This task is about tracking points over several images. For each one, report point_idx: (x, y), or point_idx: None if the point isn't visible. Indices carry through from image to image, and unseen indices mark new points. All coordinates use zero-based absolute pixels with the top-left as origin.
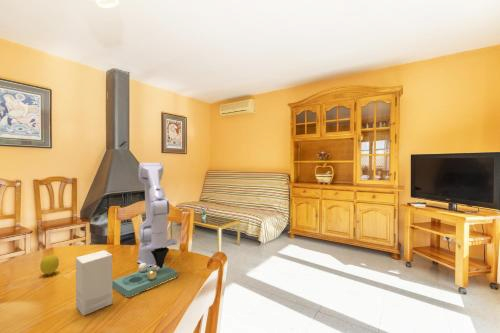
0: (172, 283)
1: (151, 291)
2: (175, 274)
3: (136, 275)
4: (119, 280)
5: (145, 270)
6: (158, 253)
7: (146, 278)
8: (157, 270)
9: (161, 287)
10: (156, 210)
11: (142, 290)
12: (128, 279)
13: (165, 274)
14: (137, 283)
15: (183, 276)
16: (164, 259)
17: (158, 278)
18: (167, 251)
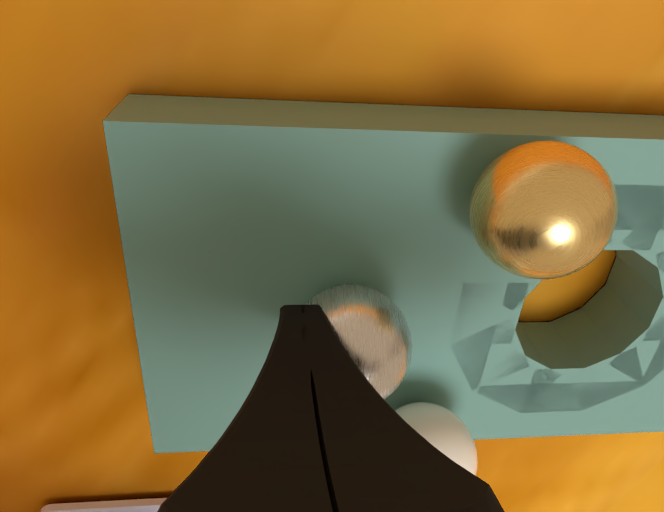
0: (280, 4)
1: (565, 50)
2: (155, 112)
3: (514, 383)
4: (660, 396)
5: (413, 403)
6: (496, 502)
7: None
8: (367, 292)
9: (437, 35)
10: None
11: (636, 120)
12: (614, 363)
13: (307, 170)
14: (662, 222)
15: (38, 54)
16: (259, 379)
17: (450, 139)
18: (203, 500)
